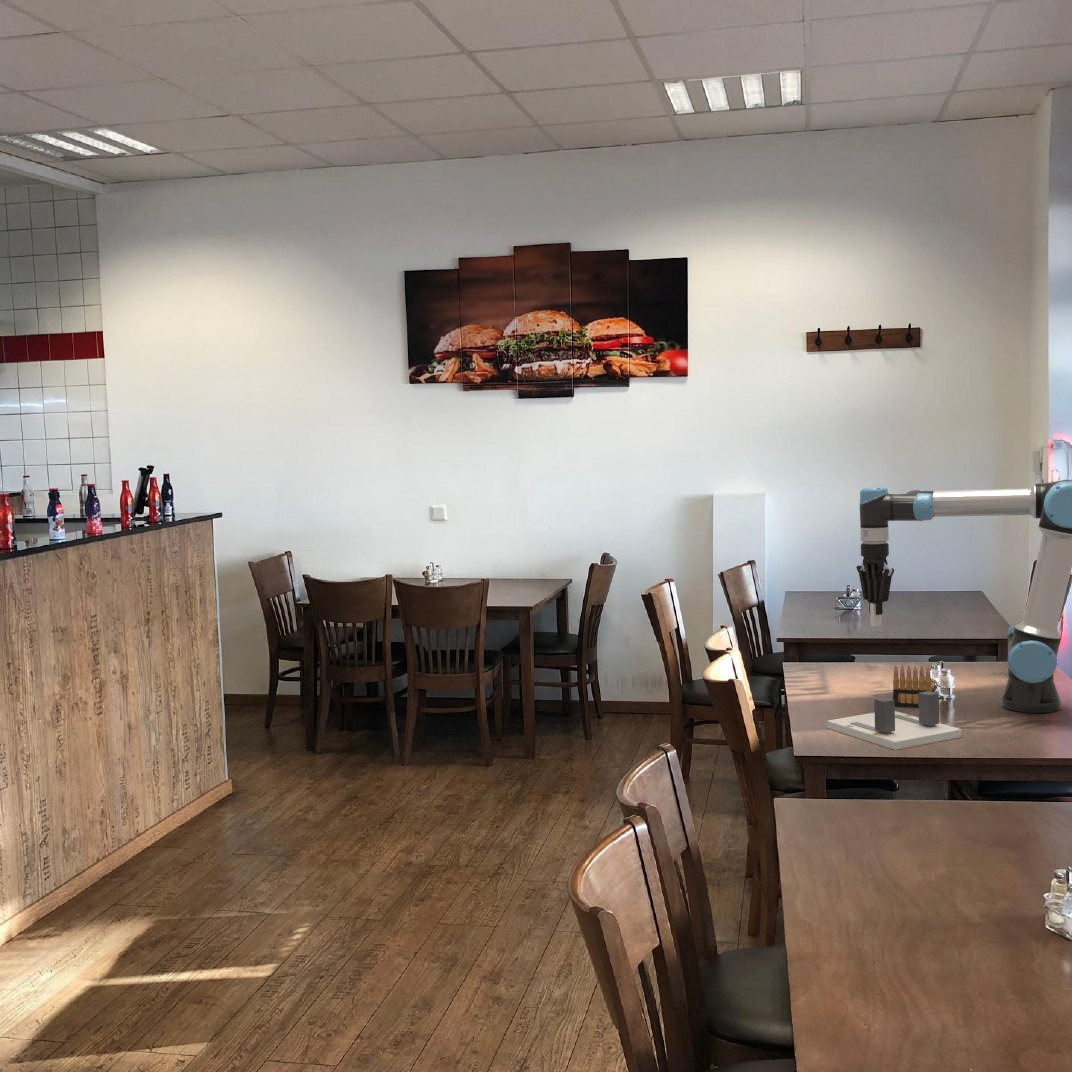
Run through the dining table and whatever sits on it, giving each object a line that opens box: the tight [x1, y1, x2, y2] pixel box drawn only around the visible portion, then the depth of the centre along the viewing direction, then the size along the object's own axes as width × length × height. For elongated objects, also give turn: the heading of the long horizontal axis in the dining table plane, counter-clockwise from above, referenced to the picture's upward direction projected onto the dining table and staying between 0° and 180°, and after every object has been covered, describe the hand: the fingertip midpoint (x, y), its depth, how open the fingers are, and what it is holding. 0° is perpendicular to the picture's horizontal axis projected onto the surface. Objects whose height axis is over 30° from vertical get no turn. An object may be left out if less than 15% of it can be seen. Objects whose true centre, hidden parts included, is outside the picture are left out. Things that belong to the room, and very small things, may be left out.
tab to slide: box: [918, 691, 940, 726], centre depth 292 cm, size 4×4×8 cm
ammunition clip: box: [892, 664, 933, 709], centre depth 321 cm, size 11×2×12 cm, turn 66°
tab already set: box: [873, 697, 896, 733], centre depth 287 cm, size 4×4×8 cm
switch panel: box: [826, 710, 963, 751], centre depth 295 cm, size 26×22×2 cm
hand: (876, 625), depth 316 cm, fingers closed
